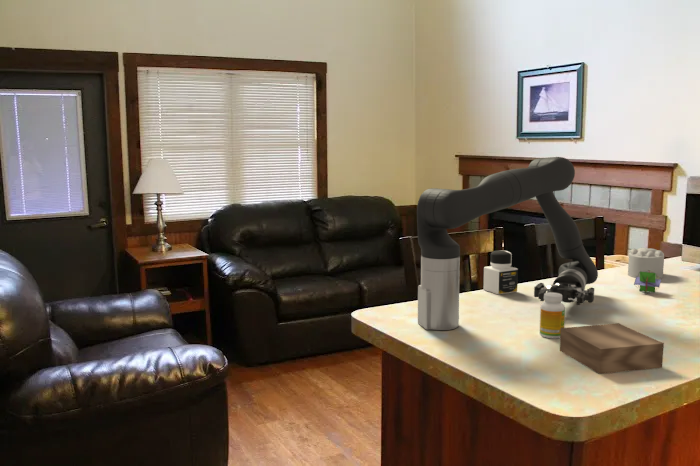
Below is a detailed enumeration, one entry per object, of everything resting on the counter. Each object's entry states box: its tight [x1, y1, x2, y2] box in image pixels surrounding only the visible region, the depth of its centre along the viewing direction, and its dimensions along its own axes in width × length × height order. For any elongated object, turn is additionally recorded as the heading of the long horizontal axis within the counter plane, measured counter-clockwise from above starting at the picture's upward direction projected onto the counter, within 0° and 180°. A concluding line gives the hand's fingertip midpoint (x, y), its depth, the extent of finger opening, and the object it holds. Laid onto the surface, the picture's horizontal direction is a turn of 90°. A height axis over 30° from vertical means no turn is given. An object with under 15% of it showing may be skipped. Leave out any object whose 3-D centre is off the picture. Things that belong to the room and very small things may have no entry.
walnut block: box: [559, 322, 665, 375], centre depth 130 cm, size 14×14×5 cm
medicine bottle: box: [483, 249, 519, 296], centre depth 188 cm, size 7×7×12 cm
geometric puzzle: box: [633, 270, 662, 295], centre depth 185 cm, size 7×7×8 cm
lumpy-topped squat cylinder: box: [627, 247, 665, 279], centre depth 207 cm, size 10×13×9 cm
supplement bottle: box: [539, 292, 566, 340], centre depth 146 cm, size 5×5×10 cm
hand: (560, 299), depth 155 cm, fingers open, 8 cm apart
